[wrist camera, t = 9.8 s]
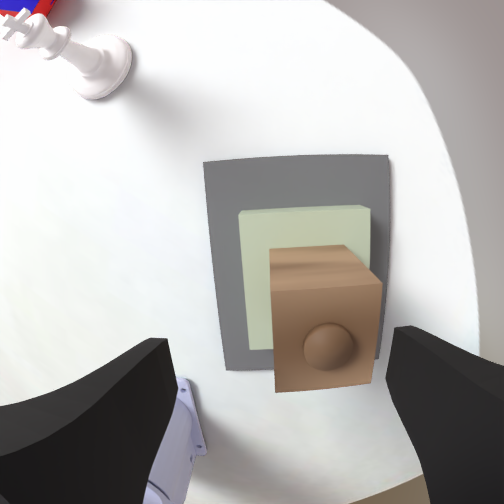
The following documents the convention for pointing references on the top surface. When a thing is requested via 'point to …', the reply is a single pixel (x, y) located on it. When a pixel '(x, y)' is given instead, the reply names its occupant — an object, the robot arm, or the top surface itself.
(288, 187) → the build mat
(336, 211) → the base block
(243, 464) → the top surface
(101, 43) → the chess piece
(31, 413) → the robot arm
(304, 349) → the walnut snap block
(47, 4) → the toy building block
